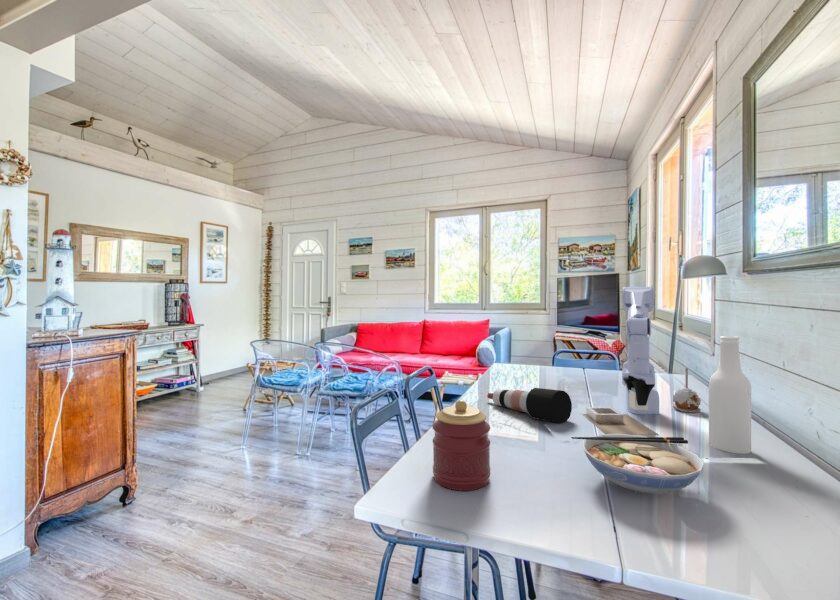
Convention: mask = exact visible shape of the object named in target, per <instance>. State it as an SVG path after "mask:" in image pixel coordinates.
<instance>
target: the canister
mask: <svg viewBox="0 0 840 600" xmlns="http://www.w3.org/2000/svg"><path fill="white" fill-rule="evenodd" d="M435 418H436V419H437V420H435V421H434V422H433V424H432V429H433V431H434V436H433V438H432V446H433V460H432V461H433V463H432V474H433V479H434V480H435V482H436V483H437V484H439V486H441V487H443V488H446V489H450V490H453V491H454V490H455V491H474V490H479V489H481V488H483V487H485V486H486V485H488V484H489V482H490V478H491V477H490V476H491V470H492V468H491V463H490V460H491V459H490V453H491V452H490V450H491V449H490V446H491V440H490V439H489V432H490V430H491V426H490V424H489V423H488V422H487V421H486V419H487V414H485V413H484V412H483V411H482V410H480V409H479V408H477V407H475V406H471V405H468V404H467V402H466V401H465V400H464V399H458V400H456V402H455V405H449V406H446V407H443V409H442V410H439V411H438V412H437V413H435Z"/></svg>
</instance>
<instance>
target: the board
mask: <svg viewBox="0 0 840 600" xmlns="http://www.w3.org/2000/svg"><path fill="white" fill-rule="evenodd" d="M622 414H623V413H622ZM581 415H582V416H583V417H584V418H586V419H587V420H588V421H589V422H590V423H591V424H593V426H595V427H596V428H598V429H599V430H600V431H601V432H602V433H603V434H627V435H637V436H660V434H659V433H657V432H656V431H654V430H653V429H651V428H649V427H647V426H646V425H644V423H642V422H640V421H639V420H636V418H634V417H633V416H631V415H629V414H628V413H625V414H623V423H596V422H595V421H594V420H592V419H591V418H590V417H589V416H588V415H586V413H581Z"/></svg>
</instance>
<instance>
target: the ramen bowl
mask: <svg viewBox="0 0 840 600" xmlns="http://www.w3.org/2000/svg"><path fill="white" fill-rule="evenodd" d="M571 439H572V440H583V441H582V450H583V452H584V454H585V456H586V457H587V459H588V460H589V463H590V464H591V465H592V466H593V468H594V469H595V470H596V471H597V472H599V474H601V475H602V476H603V477H604V478H606V479H607V480H608V481H610V482H612V483H614V484H616V485H618V486H620V487H621V488H624V489H627V490H629V491H632V492H634V493H638V494H644V495H654V494H655V495H657V494H670V493H673V492H677V491H680V490H682V489H685V488H687V487H688V486H690V485H691V484H692V483H694V481H695V480H696V479H697V478H698V477H699V475H700V474H701V472H702V471H703V468H704V465H705V462H704V461H703V460H702V459H701V457H700V456H699V455H698V454H697V453H695V452H693V451H692V450H689V449H687V448H685V447H684V446H681V445H678V444H682V445H683V444H685V445H686V444H689V440H688V439H685V438H684V437H683V436H681V437H680V436H679V437H678V436H676V437H675V436H672V437H671V436H670V437H668V436H666V437H662V436H661V437H660V436H656V437H655V436H654V437H653V436H645V435H627V434H604V433H603V434H598V435H593V436H589V437H588V436H586V437H585V436H584V437H582V436H581V437H580V436H573V437H572V436H571Z"/></svg>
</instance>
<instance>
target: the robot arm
mask: <svg viewBox="0 0 840 600" xmlns="http://www.w3.org/2000/svg"><path fill="white" fill-rule="evenodd" d="M621 293H622V294H621V299H622V308H623V311H624V312H626V313H627V319H626V320H625V335H626V342H627V351H626V352H627V360H626V361H625V362H624V363H623V365H622V372H621V373H622V374H621V381H622V385H623V386H624V387H626V388H625V389H626V411H627V412H629V413H631V414H632V413H633V414H637V415H659V414H660V394H659V391H658V390H657V389H656V373H655V372H656V371H655V366H654V365H653V364H652V363H651V361H650V337H651V335H652V320H651V317H650V316H649V313H651V312H653V309H654V308H655V307H654V306H655V287H654V286H653V285H651V286H623V287H622V291H621ZM631 388H635V392H636V398H637V404H638V405H639V406H646V404H647V400H648V410H635V409H633V408H631V407H630V406H629V390H631Z"/></svg>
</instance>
